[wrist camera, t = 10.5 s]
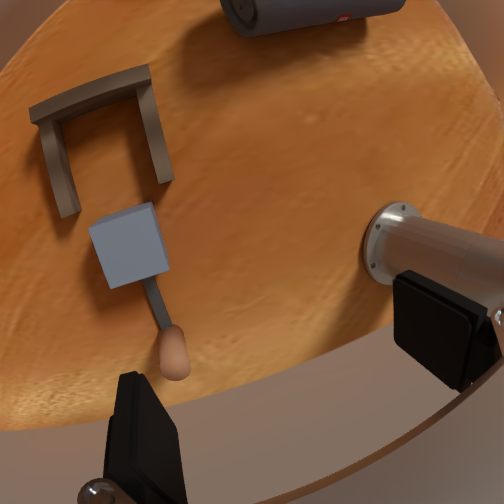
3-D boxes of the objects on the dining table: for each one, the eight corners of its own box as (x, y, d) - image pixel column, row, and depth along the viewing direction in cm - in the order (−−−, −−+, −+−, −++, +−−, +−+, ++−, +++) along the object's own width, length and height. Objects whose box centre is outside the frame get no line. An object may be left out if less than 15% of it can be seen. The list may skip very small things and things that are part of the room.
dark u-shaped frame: (173, 178, 31) (175, 180, 26) (69, 214, 28) (55, 222, 24) (149, 78, 27) (148, 63, 22) (45, 115, 24) (28, 108, 20)
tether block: (197, 338, 37) (207, 371, 30) (153, 352, 35) (155, 387, 29) (151, 200, 31) (149, 208, 24) (100, 218, 30) (85, 230, 23)
